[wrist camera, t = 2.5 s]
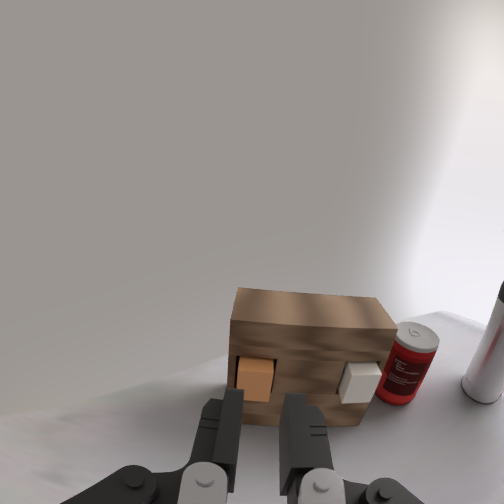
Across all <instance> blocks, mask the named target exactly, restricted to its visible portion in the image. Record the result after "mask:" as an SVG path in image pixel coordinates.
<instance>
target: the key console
mask: <svg viewBox="0 0 504 504" xmlns="http://www.w3.org/2000/svg"><path fill="white" fill-rule="evenodd" d="M397 332H398V327H397V326H396V325H395V323H394V322H393V320H392V319H391V318H390V316H389V315H388V313H387V312H386V311H385V309H384V308H383V307H382V305H381V304H380V303H379V301H378V300H377V299H376V298H370V297H353V296H337V295H323V294H308V293H296V292H283V291H272V290H261V289H250V288H238V290H237V295H236V298H235V303H234V307H233V311H232V315H231V319H230V337H229V357H228V378H227V388H235V389H237V377H238V367H239V360H240V356H248V357H260V358H272V359H273V370H274V374H273V380H272V385H271V391H270V397H269V402H262V401H250V400H244V401H243V411H242V421H241V423H242V424H253V425H267V426H279V422H280V416H281V411H282V407H283V402H284V398H285V394H286V392H288V393H305V395H306V402H307V406H318V408H319V409H320V410H321V412H322V413H323V415H324V418H325V423H326V427H332V426H353V425H359V424H360V422H361V420H362V418H363V416H364V413H365V411H366V409H367V407H368V405H369V403H370V402H366V403H342V402H341V399H340V395H339V391H338V384H339V381H340V378H341V375H342V372H343V369H344V365H345V362H346V361H347V362H359V361H376V363H377V365H378V367H379V369H380V371H381V374H382V372H383V370H384V367H385V365H386V362H387V360H388V357H389V354H390V352H391V349H392V346H393V343H394V340H395V337H396V335H397Z"/></svg>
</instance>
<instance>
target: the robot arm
mask: <svg viewBox="0 0 504 504" xmlns="http://www.w3.org/2000/svg"><path fill="white" fill-rule="evenodd" d="M462 386H463V389H464V391H465V392H466V393H467V394H468V395H469V396H470V397H471V398H473V399H474V400H476V401H478V402H481V403H492V402H495V401H496V400H497V399H498V397H499V396H500V394H502V393H503V391H504V281H503V283H502V285H501V288H500V291H499V294H498V297H497V300H496V303H495V306H494V309H493V312H492V314H491V317H490V320H489V323H488V325H487V327H486V330H485V332H484V335H483V337H482V339H481V342H480V344H479V346H478V349H477V351H476V353H475V355H474V357H473V359H472V361H471V363H470V365H469V367H468V369H467V371H466V373H465V375H464V377H463V379H462ZM244 390H245V389H235V388H227V387H226V390H225V395H224V400H219V399H212V398H211V399H210V400H209V401H208V402H207V403H206V404H205V406H204V407H203V410H202V414H201V419H200V422H199V426H198V430H197V433H196V437H195V441H194V445H193V449H192V453H191V457H190V460H189V462H188V463H187V464H186V465H185V466H184V467H183V468H181V469H179V470H177V471H173V472H163V473H152V472H151V471H149V470H148V469H146V468H144V467H142V466H138V465H129V466H125V467H123V468H121V469H119V470H117V471H116V472H114V473H113V474H111V475H109V476H108V477H106V478H105V479H103V480H101V481H100V482H98V483H96V484H95V485H93V486H91V487H90V488H88V489H86V490H84V491H83V492H81V493H79V494H77V495H75V496H74V497H72V498H70V499H68V500H66V501H64V502H62V503H60V504H226V502H227V494H228V492H229V493H233V492H234V484H235V475H236V466H237V457H238V448H239V439H240V430H241V421H242V411H243V401H244ZM279 461H280V496H287V504H424V503H423V502H421V501H420V500H419V499H418V498H417V497H415V496H414V495H413V494H412V493H411V492H409V491H408V490H407V489H406V488H405V487H403V486H402V485H401V484H400V483H399V482H397V481H396V480H394V479H391V478H380V479H377V480H375V481H373V482H372V483H370V485H367V484H360V483H354V482H349V481H346V480H344V479H342V477H341V476H340V475H339V474H338V473H337V472H335V470H334V468H333V464H332V458H331V452H330V446H329V440H328V436H327V429H326V423H325V418H324V415H323V413H322V412H321V410H320V409H319V408H318V406H307V402H306V395H305V393H288V392H286V394H285V398H284V402H283V407H282V411H281V416H280V422H279Z"/></svg>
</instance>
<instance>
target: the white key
mask: <svg viewBox="0 0 504 504" xmlns="http://www.w3.org/2000/svg"><path fill="white" fill-rule="evenodd" d="M381 376H382V374H381V371H380V369H379V367H378V365H377V363H376V361H359V362H347V361H346V362H345V365H344V369H343V372H342V375H341V378H340V381H339V384H338V391H339V395H340V399H341V402H342V403H366V402H370V401H371V399H372V397H373V395H374V392H375V390H376V388H377V385H378V383H379V381H380V378H381Z"/></svg>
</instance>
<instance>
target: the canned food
mask: <svg viewBox="0 0 504 504" xmlns="http://www.w3.org/2000/svg"><path fill="white" fill-rule="evenodd" d="M396 326H397V327H398V332H397V335H396V337H395V340H394V343H393V346H392V349H391V352H390V354H389V357H388V360H387V362H386V365H385V367H384V370H383V372H382V376H381V378H380V381H379V383H378V385H377V388H376V390H375V392H376V394H377V396H378V397H379V398H380V399H382V400H383V401H385V402H387V403H389V404H392V405H404V404H407V403H409V402H410V401H411V400H412V399H413V398H414V397H415V395H416V393H417V391H418V389H419V387H420V385H421V383H422V381H423V379H424V377H425V375H426V373H427V371H428V369H429V367H430V364H431V362H432V360H433V358H434V356H435V353H436V350H437V348H438V345H439V337H438V336H437V334H436V333H435V332H434V331H432V330H431V329H429V328H428V327H426V326H424V325H421V324H418V323H414V322H401V323H398V324H396Z"/></svg>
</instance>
